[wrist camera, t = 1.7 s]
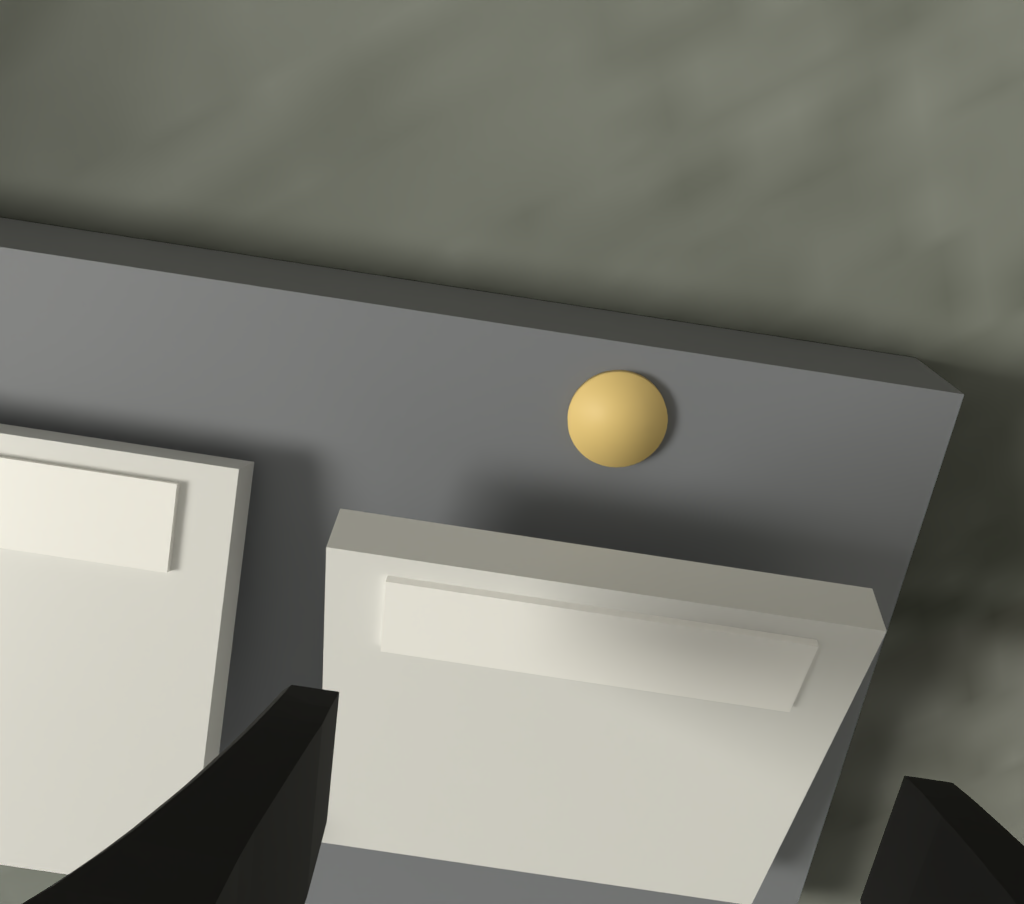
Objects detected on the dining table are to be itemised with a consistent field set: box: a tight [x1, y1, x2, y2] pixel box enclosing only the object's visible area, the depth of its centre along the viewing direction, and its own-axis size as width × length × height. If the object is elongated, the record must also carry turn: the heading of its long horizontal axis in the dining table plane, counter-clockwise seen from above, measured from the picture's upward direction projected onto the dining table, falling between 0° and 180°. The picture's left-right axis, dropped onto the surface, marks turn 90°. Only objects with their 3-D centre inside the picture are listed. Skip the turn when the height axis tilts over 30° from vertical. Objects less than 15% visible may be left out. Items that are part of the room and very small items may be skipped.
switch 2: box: [322, 508, 887, 904], centre depth 18 cm, size 8×9×1 cm
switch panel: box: [0, 217, 964, 904], centre depth 20 cm, size 14×23×3 cm, turn 82°
